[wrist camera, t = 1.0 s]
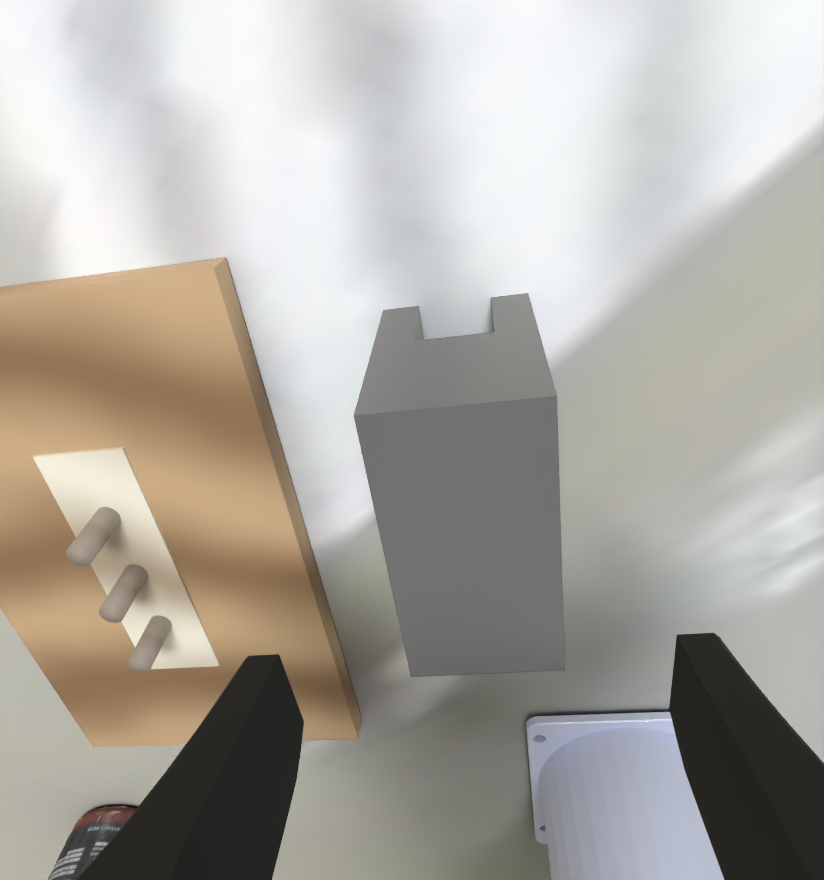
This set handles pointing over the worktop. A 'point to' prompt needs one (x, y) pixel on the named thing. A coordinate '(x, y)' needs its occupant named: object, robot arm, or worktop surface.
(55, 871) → the supplement bottle
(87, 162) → the worktop surface
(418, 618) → the block
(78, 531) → the pin board
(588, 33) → the worktop surface
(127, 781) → the worktop surface
